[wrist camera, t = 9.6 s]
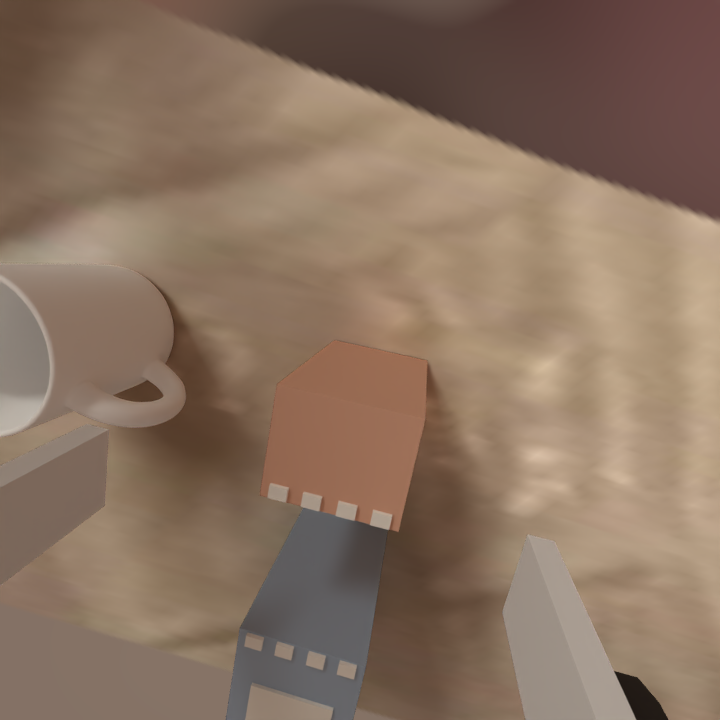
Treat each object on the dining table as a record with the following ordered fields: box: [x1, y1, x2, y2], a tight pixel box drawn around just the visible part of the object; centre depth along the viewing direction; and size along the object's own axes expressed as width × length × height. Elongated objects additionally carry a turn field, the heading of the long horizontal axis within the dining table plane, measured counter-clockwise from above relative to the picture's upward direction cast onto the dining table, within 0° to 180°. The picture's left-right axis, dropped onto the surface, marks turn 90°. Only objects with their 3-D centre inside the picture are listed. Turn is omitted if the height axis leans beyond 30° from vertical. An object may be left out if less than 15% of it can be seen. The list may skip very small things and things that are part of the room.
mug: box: [0, 263, 186, 437], centre depth 26 cm, size 12×8×10 cm
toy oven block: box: [226, 508, 388, 720], centre depth 26 cm, size 8×6×11 cm
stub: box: [260, 340, 427, 532], centre depth 23 cm, size 5×6×11 cm
